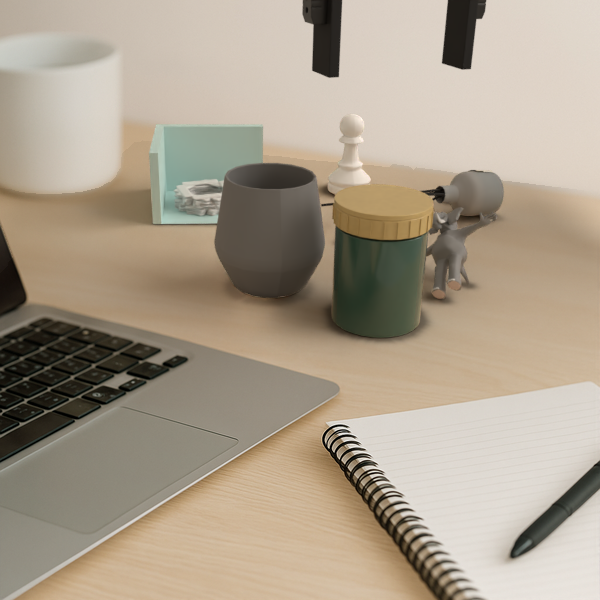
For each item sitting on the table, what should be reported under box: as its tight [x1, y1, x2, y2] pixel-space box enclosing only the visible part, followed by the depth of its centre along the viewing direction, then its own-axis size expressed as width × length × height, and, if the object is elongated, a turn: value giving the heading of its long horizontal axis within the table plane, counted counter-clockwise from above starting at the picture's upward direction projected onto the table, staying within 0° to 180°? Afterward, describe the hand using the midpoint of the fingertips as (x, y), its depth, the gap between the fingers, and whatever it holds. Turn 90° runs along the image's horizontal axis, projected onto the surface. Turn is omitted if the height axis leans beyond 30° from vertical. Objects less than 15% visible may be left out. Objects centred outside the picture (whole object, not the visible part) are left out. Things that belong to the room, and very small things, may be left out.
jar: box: [330, 224, 429, 339], centre depth 65 cm, size 7×7×10 cm
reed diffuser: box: [320, 169, 505, 217], centre depth 86 cm, size 10×7×20 cm
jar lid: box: [331, 183, 435, 240], centre depth 64 cm, size 8×8×2 cm
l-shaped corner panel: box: [148, 123, 264, 225], centre depth 90 cm, size 12×12×8 cm
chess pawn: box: [327, 113, 372, 196], centre depth 95 cm, size 5×5×9 cm
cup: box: [213, 162, 326, 299], centre depth 70 cm, size 10×9×10 cm
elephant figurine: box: [426, 207, 498, 300], centre depth 73 cm, size 10×6×9 cm
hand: (392, 70), depth 59 cm, fingers open, 10 cm apart
